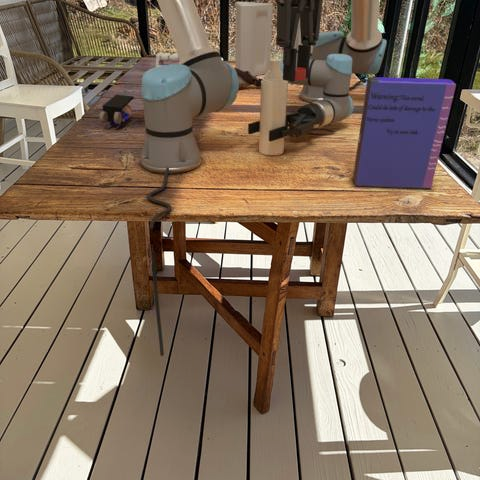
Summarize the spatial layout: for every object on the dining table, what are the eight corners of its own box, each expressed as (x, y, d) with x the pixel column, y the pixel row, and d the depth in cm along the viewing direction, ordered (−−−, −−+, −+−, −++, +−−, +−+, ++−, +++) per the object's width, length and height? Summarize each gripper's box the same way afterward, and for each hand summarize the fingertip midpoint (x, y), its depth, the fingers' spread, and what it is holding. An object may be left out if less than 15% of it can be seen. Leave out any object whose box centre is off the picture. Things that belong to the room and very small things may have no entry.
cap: (300, 75, 106) (301, 66, 105) (308, 79, 102) (309, 70, 101) (283, 76, 104) (283, 67, 103) (290, 80, 101) (291, 71, 100)
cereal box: (425, 180, 115) (449, 78, 103) (430, 188, 111) (456, 83, 99) (352, 177, 116) (367, 76, 104) (355, 186, 112) (371, 81, 100)
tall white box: (273, 76, 210) (276, 6, 196) (239, 77, 209) (240, 6, 194) (266, 67, 226) (268, 2, 212) (235, 67, 225) (235, 1, 210)
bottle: (287, 149, 133) (293, 58, 121) (277, 157, 128) (282, 63, 115) (265, 144, 136) (269, 56, 123) (254, 152, 131) (257, 60, 118)
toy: (175, 75, 210) (174, 58, 206) (151, 64, 228) (150, 49, 224) (222, 69, 222) (222, 53, 218) (195, 59, 239) (195, 45, 236)
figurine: (210, 87, 179) (288, 95, 182) (212, 65, 176) (291, 73, 180) (208, 84, 201) (278, 91, 205) (210, 64, 198) (280, 71, 202)
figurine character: (122, 135, 144) (137, 116, 156) (118, 111, 140) (134, 93, 152) (101, 134, 145) (117, 115, 157) (96, 110, 140) (113, 92, 152)
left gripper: (292, -48, 84) (284, 88, 96) (345, -47, 95) (332, 75, 107) (259, -48, 88) (256, 82, 100) (313, -47, 99) (304, 70, 111)
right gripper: (340, 136, 135) (286, 156, 121) (287, 120, 147) (233, 136, 134) (343, 110, 131) (288, 127, 118) (289, 96, 143) (233, 110, 130)
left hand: (295, 78), depth 103 cm, fingers closed on cap, 4 cm apart
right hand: (259, 132), depth 126 cm, fingers closed on bottle, 7 cm apart
